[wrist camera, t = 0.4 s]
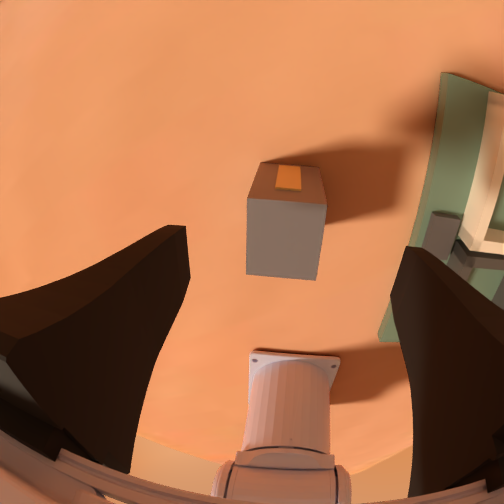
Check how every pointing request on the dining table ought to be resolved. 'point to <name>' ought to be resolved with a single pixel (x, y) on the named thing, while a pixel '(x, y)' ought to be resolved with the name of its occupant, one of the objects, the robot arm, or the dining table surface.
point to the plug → (285, 221)
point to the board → (464, 191)
